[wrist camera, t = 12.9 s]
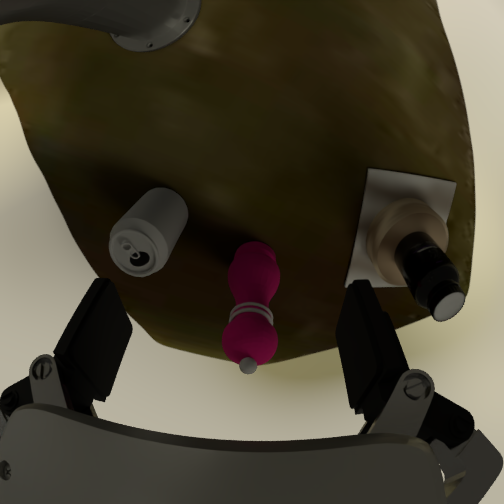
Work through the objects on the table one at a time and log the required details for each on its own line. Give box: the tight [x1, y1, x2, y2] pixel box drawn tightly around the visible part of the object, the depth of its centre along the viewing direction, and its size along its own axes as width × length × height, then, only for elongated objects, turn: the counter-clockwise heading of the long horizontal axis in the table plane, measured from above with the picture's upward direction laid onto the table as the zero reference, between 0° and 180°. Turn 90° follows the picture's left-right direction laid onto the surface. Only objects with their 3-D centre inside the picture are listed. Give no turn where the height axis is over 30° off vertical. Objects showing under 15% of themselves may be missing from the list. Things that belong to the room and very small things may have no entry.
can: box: [109, 188, 188, 277], centre depth 33 cm, size 8×8×12 cm
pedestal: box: [345, 168, 457, 287], centre depth 37 cm, size 20×16×5 cm
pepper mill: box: [222, 241, 280, 374], centre depth 34 cm, size 7×7×20 cm
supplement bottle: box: [394, 231, 465, 322], centre depth 30 cm, size 7×7×12 cm
